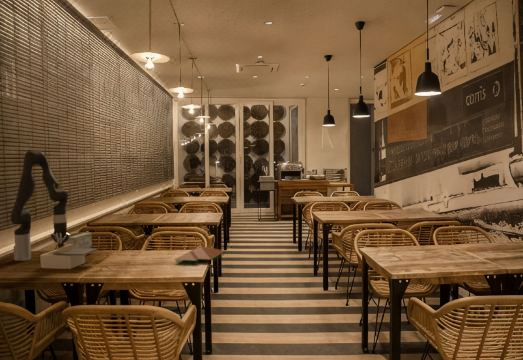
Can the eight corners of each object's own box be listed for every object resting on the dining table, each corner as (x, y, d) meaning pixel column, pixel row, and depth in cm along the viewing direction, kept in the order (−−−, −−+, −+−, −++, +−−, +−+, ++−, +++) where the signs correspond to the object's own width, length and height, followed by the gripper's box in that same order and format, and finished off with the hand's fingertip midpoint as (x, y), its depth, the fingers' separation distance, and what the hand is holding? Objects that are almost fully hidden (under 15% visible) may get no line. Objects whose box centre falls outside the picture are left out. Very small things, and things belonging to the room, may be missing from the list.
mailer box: (40, 267, 285) (40, 255, 284) (56, 261, 301) (56, 249, 300) (70, 268, 281) (70, 255, 281) (85, 262, 297) (84, 250, 297)
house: (226, 254, 314) (226, 242, 314) (208, 266, 282) (208, 253, 282) (195, 253, 320) (195, 241, 320) (174, 264, 288) (173, 251, 288)
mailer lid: (53, 254, 283) (53, 248, 283) (68, 249, 299) (68, 243, 298) (83, 255, 279) (83, 249, 279) (97, 249, 295) (97, 244, 295)
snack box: (74, 260, 304) (73, 237, 303) (67, 260, 305) (66, 237, 304) (92, 253, 325) (92, 232, 324) (85, 253, 326) (84, 232, 325)
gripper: (46, 222, 287) (47, 250, 288) (66, 222, 285) (67, 250, 286) (54, 220, 294) (55, 247, 295) (73, 220, 292) (74, 248, 293)
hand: (61, 249), depth 290 cm, fingers closed
